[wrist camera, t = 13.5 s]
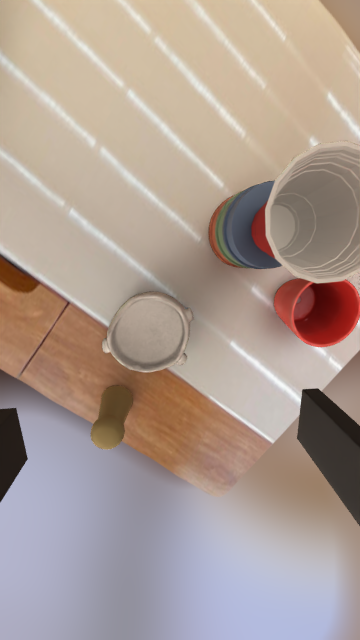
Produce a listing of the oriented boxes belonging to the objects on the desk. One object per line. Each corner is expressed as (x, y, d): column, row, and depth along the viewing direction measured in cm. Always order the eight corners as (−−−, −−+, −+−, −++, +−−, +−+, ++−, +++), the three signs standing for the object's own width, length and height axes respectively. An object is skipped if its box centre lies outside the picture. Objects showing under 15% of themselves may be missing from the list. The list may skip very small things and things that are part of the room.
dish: (101, 349, 47) (95, 360, 43) (125, 277, 44) (121, 280, 39) (176, 372, 50) (177, 386, 45) (203, 305, 47) (208, 312, 42)
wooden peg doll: (113, 379, 49) (101, 415, 39) (139, 396, 51) (133, 436, 40) (94, 401, 50) (77, 443, 40) (120, 418, 51) (110, 462, 41)
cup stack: (208, 194, 42) (226, 174, 30) (279, 193, 42) (323, 173, 31) (208, 268, 45) (225, 275, 33) (274, 266, 46) (312, 272, 34)
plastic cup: (285, 157, 30) (362, 100, 19) (330, 233, 33) (422, 226, 21) (211, 219, 31) (240, 203, 20) (260, 288, 34) (311, 309, 23)
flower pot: (316, 261, 46) (357, 264, 36) (327, 317, 49) (366, 334, 40) (259, 281, 46) (284, 289, 37) (273, 336, 49) (299, 357, 40)
